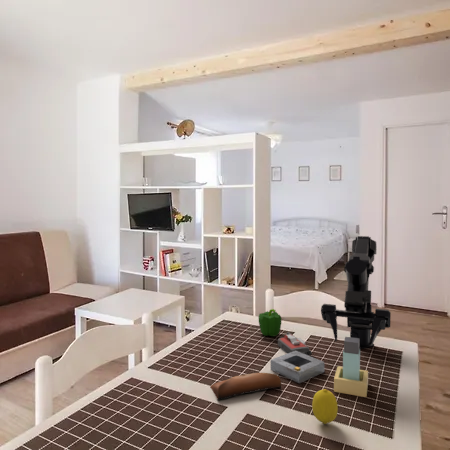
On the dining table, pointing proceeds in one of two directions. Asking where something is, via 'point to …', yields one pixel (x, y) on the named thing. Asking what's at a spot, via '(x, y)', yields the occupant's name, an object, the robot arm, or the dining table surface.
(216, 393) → the sunglasses case
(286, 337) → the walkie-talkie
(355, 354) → the plug
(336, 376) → the yellow square socket
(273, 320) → the bell pepper
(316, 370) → the port block
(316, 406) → the lemon
